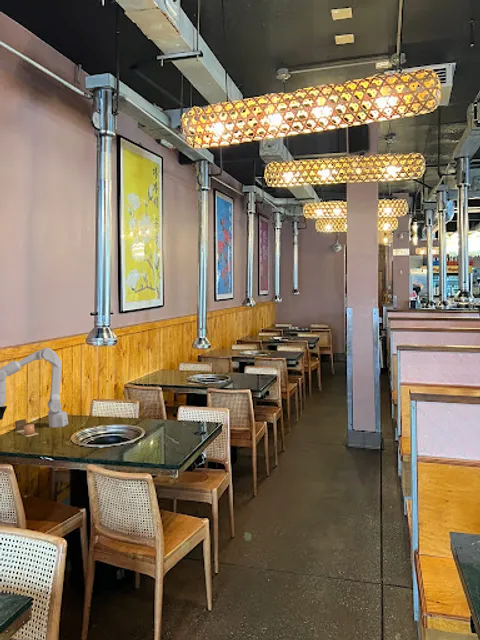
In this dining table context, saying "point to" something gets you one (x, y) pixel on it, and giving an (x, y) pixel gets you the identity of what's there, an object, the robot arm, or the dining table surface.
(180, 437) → the dining table surface
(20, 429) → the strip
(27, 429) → the tan round lump
